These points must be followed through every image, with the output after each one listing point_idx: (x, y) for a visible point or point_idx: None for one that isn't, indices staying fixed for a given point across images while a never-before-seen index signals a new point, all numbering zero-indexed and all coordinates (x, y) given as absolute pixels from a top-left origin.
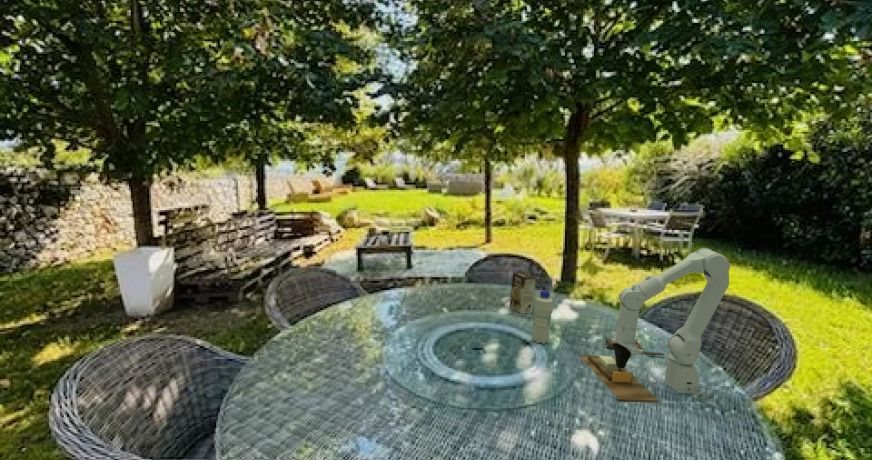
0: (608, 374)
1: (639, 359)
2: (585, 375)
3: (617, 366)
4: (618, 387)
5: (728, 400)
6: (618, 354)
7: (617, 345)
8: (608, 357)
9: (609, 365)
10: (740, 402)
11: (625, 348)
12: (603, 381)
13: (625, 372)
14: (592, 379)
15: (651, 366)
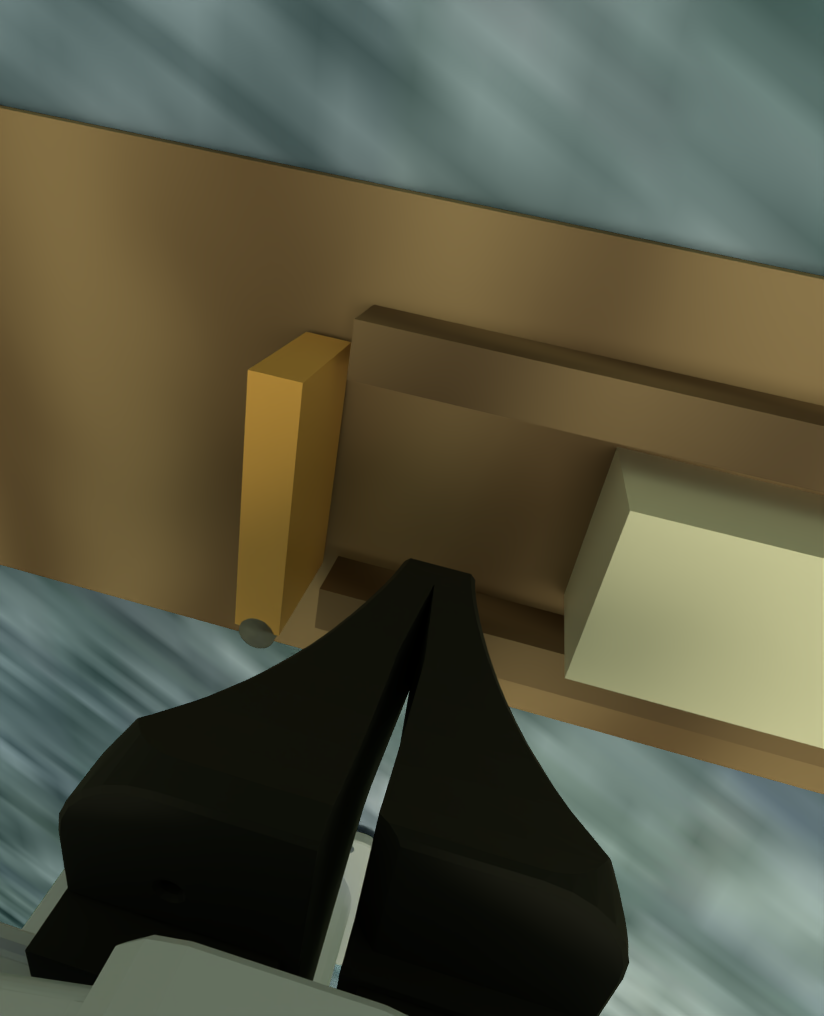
0: (415, 350)
1: (812, 1010)
2: (706, 51)
3: (429, 568)
4: (186, 314)
5: None
6: (288, 686)
7: (422, 936)
8: None
9: (613, 535)
10: None
11: (47, 927)
12: (360, 197)
13: (257, 554)
14: (538, 101)
15: (640, 980)
